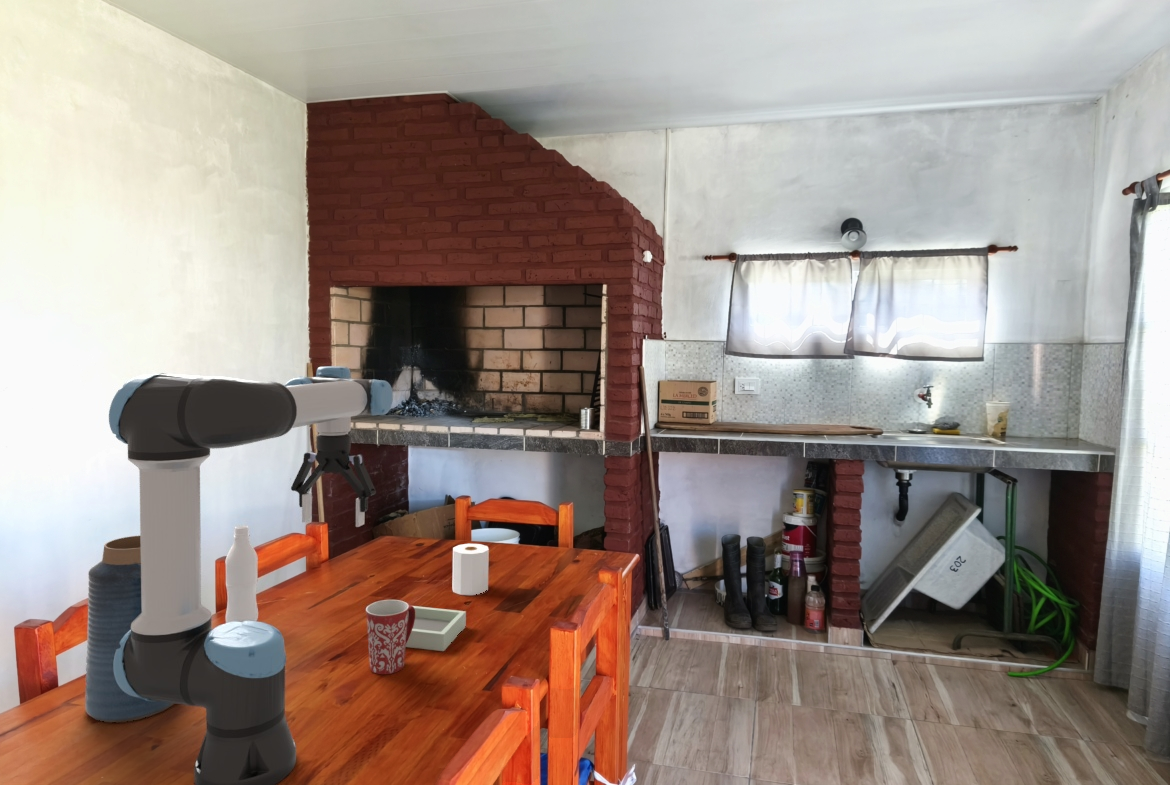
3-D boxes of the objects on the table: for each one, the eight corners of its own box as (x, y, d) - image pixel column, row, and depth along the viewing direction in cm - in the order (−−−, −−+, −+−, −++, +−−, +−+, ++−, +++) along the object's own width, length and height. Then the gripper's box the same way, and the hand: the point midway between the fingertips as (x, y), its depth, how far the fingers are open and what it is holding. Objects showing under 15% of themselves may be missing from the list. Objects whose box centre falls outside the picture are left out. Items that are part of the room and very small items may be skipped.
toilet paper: (482, 597, 198) (483, 554, 197) (446, 594, 200) (447, 551, 199) (492, 585, 208) (493, 544, 207) (458, 582, 210) (459, 542, 209)
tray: (443, 651, 163) (443, 634, 162) (369, 642, 166) (369, 626, 166) (465, 626, 177) (465, 611, 177) (397, 619, 180) (397, 604, 180)
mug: (386, 681, 148) (386, 618, 147) (356, 669, 153) (356, 608, 152) (428, 658, 159) (429, 600, 158) (399, 648, 163) (400, 591, 162)
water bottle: (218, 629, 171) (218, 528, 169) (245, 619, 177) (244, 521, 176) (238, 636, 168) (237, 532, 166) (264, 625, 174) (264, 525, 172)
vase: (70, 730, 126) (66, 557, 124) (104, 686, 142) (101, 532, 140) (172, 719, 131) (170, 552, 129) (194, 678, 147) (193, 528, 144)
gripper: (391, 433, 165) (390, 523, 167) (294, 428, 170) (294, 515, 171) (375, 437, 158) (375, 531, 159) (275, 432, 162) (275, 523, 164)
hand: (333, 523), depth 165 cm, fingers open, 13 cm apart
